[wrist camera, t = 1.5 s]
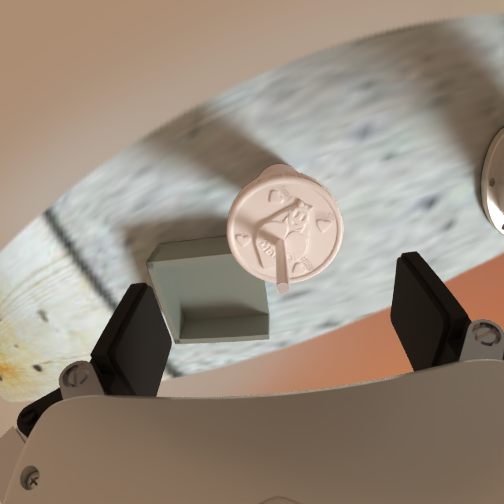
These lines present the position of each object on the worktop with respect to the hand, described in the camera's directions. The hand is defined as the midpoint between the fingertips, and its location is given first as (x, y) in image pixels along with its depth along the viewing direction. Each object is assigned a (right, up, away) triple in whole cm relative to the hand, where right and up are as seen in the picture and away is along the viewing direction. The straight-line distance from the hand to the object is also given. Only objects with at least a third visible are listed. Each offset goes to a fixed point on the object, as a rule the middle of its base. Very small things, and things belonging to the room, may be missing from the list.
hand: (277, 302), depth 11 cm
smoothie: (+1, +7, +14) cm, 16 cm away
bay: (-4, -1, +18) cm, 19 cm away
